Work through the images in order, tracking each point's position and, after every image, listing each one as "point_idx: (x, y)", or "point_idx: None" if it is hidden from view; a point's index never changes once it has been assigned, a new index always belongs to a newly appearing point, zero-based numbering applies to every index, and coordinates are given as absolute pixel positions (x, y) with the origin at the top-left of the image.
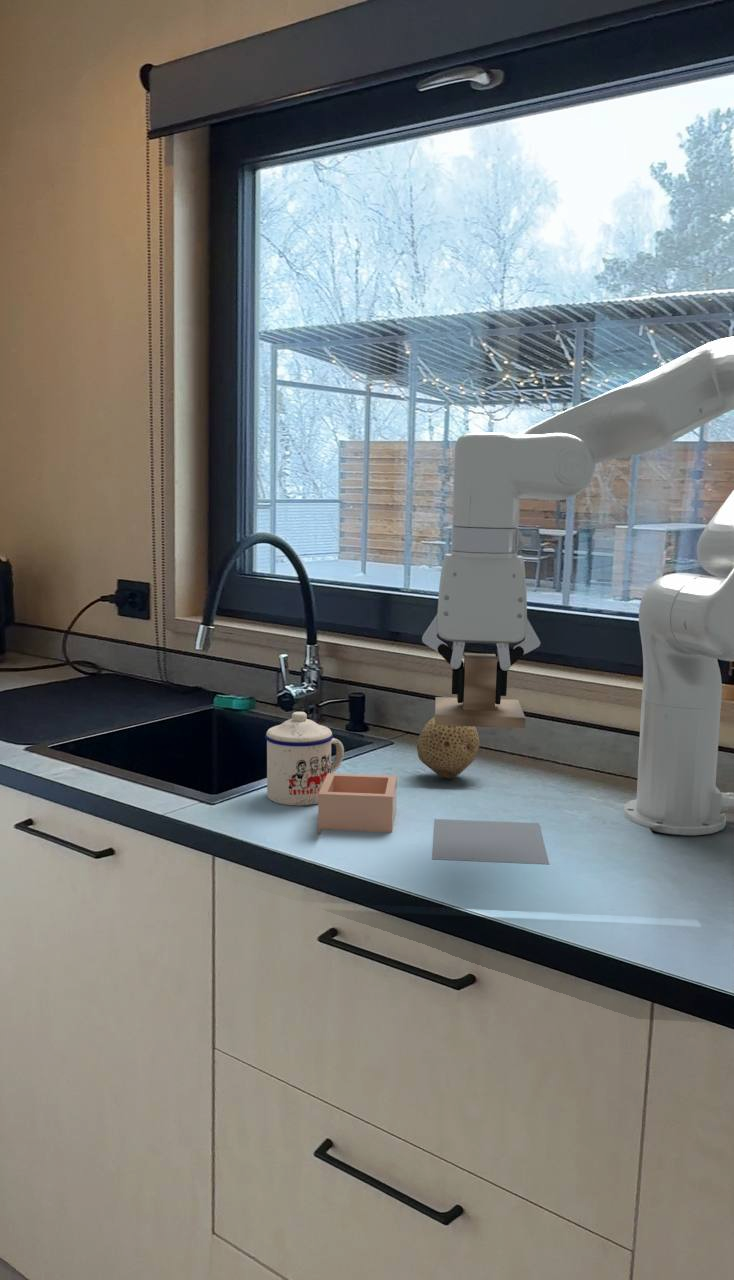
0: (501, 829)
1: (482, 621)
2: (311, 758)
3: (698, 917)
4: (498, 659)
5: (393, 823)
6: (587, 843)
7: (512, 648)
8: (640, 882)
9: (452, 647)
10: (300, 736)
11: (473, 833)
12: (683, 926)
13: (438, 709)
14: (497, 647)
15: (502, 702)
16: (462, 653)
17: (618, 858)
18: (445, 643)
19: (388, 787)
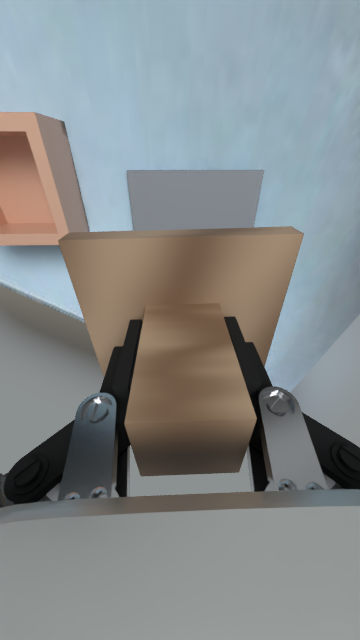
0: (211, 206)
1: None
2: None
3: (310, 353)
4: (258, 418)
5: (80, 204)
6: (300, 223)
7: (326, 475)
8: (302, 310)
9: (69, 469)
10: None
11: (177, 224)
12: (294, 363)
13: (105, 363)
14: (268, 472)
15: (247, 278)
16: (128, 487)
17: (311, 263)
18: (34, 501)
19: (50, 199)
